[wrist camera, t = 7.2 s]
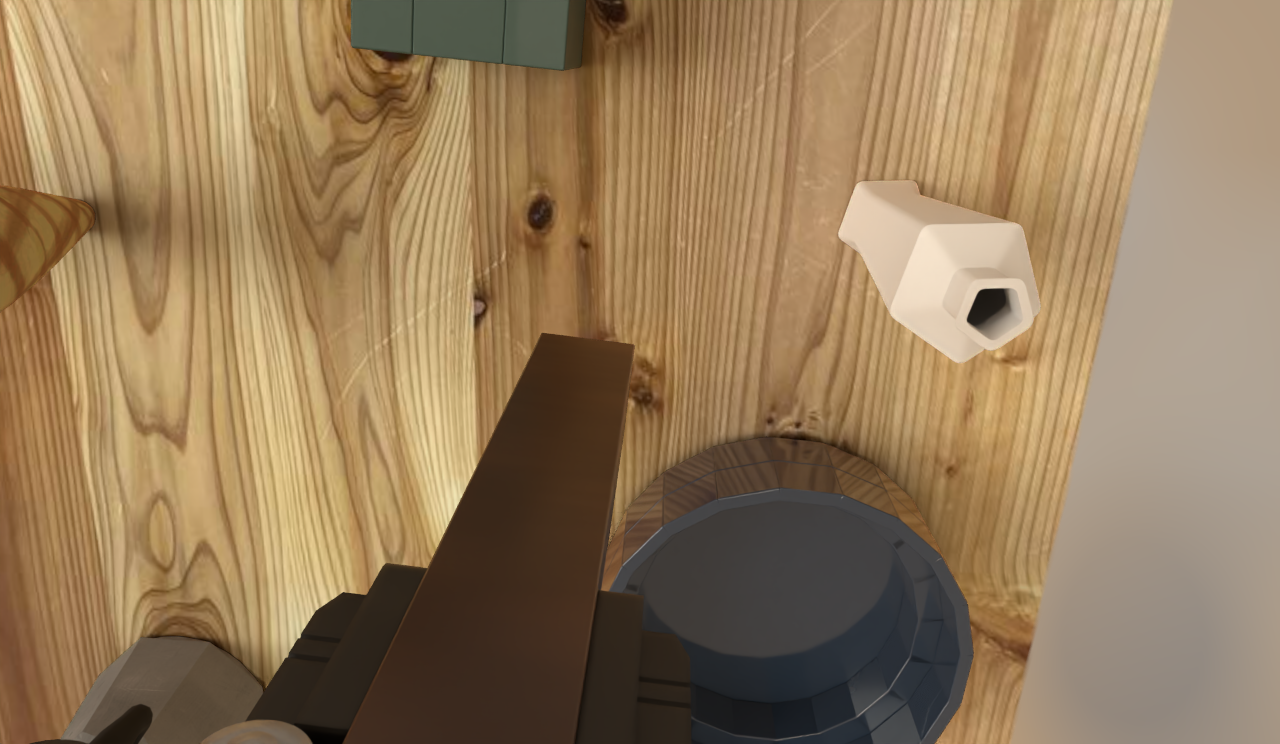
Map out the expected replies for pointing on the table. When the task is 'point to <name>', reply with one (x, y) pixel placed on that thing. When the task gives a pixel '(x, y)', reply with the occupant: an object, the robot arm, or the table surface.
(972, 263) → the perfume bottle
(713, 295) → the table surface
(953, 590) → the bowl
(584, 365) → the brown rectangular peg
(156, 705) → the coffeepot
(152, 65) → the table surface
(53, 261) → the ice cream cone
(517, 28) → the holder
